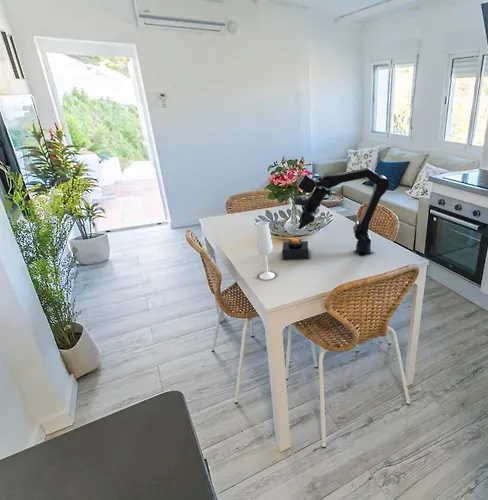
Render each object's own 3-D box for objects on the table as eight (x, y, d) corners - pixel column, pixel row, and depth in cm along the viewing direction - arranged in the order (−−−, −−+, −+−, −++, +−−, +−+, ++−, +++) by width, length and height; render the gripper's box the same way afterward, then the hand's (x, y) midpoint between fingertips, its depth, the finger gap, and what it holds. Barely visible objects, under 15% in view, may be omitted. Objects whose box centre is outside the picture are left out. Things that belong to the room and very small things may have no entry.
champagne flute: (256, 275, 150) (250, 223, 140) (269, 270, 155) (264, 219, 145) (265, 281, 146) (260, 227, 136) (278, 275, 150) (274, 223, 141)
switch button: (299, 241, 170) (298, 237, 169) (299, 243, 166) (298, 240, 166) (291, 241, 169) (291, 238, 169) (291, 244, 166) (291, 240, 165)
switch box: (308, 250, 176) (307, 237, 173) (308, 258, 167) (308, 245, 164) (284, 251, 174) (283, 238, 171) (283, 259, 165) (282, 246, 162)
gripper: (302, 184, 167) (285, 211, 172) (300, 194, 150) (282, 223, 155) (321, 196, 171) (305, 222, 175) (322, 207, 154) (304, 235, 158)
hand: (299, 225), depth 166 cm, fingers open, 9 cm apart
